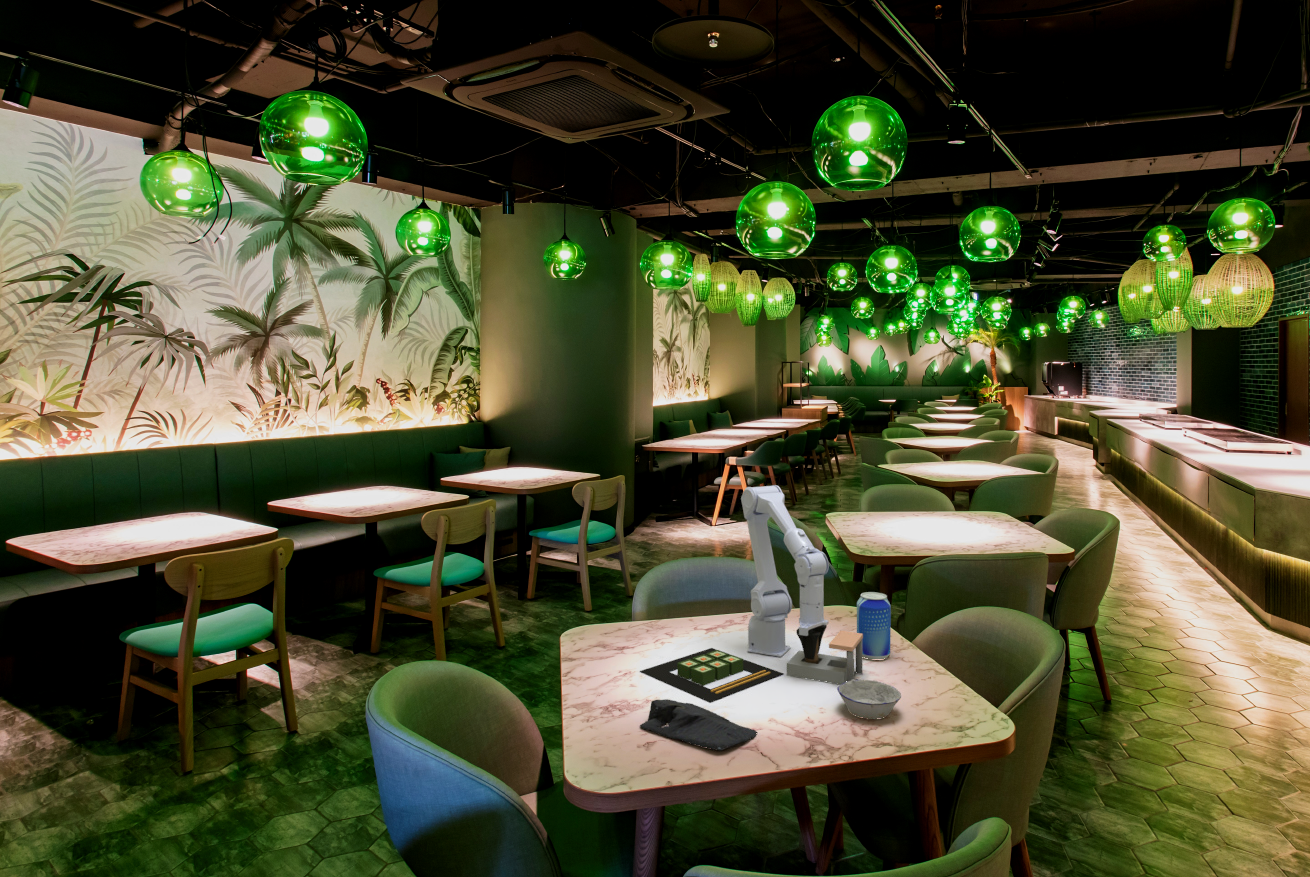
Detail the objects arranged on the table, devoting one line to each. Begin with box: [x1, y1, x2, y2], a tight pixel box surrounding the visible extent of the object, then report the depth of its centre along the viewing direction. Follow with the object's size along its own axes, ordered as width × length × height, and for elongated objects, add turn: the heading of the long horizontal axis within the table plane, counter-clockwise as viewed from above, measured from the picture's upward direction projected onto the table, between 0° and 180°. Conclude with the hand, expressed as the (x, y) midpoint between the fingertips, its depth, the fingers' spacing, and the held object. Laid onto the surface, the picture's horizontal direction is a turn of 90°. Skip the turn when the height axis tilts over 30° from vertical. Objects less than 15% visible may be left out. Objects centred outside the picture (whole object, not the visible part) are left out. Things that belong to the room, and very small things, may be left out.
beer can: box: [856, 591, 892, 660], centre depth 189 cm, size 8×8×16 cm
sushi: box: [639, 647, 784, 704], centre depth 179 cm, size 25×25×4 cm
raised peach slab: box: [828, 630, 863, 681], centre depth 175 cm, size 6×11×10 cm, turn 152°
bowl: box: [836, 678, 902, 720], centre depth 156 cm, size 13×13×5 cm
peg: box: [805, 641, 819, 664], centre depth 179 cm, size 3×3×7 cm
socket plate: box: [786, 650, 847, 685], centre depth 178 cm, size 14×10×3 cm
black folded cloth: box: [639, 699, 758, 751], centre depth 148 cm, size 15×22×5 cm
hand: (811, 656), depth 179 cm, fingers closed on peg, 3 cm apart
